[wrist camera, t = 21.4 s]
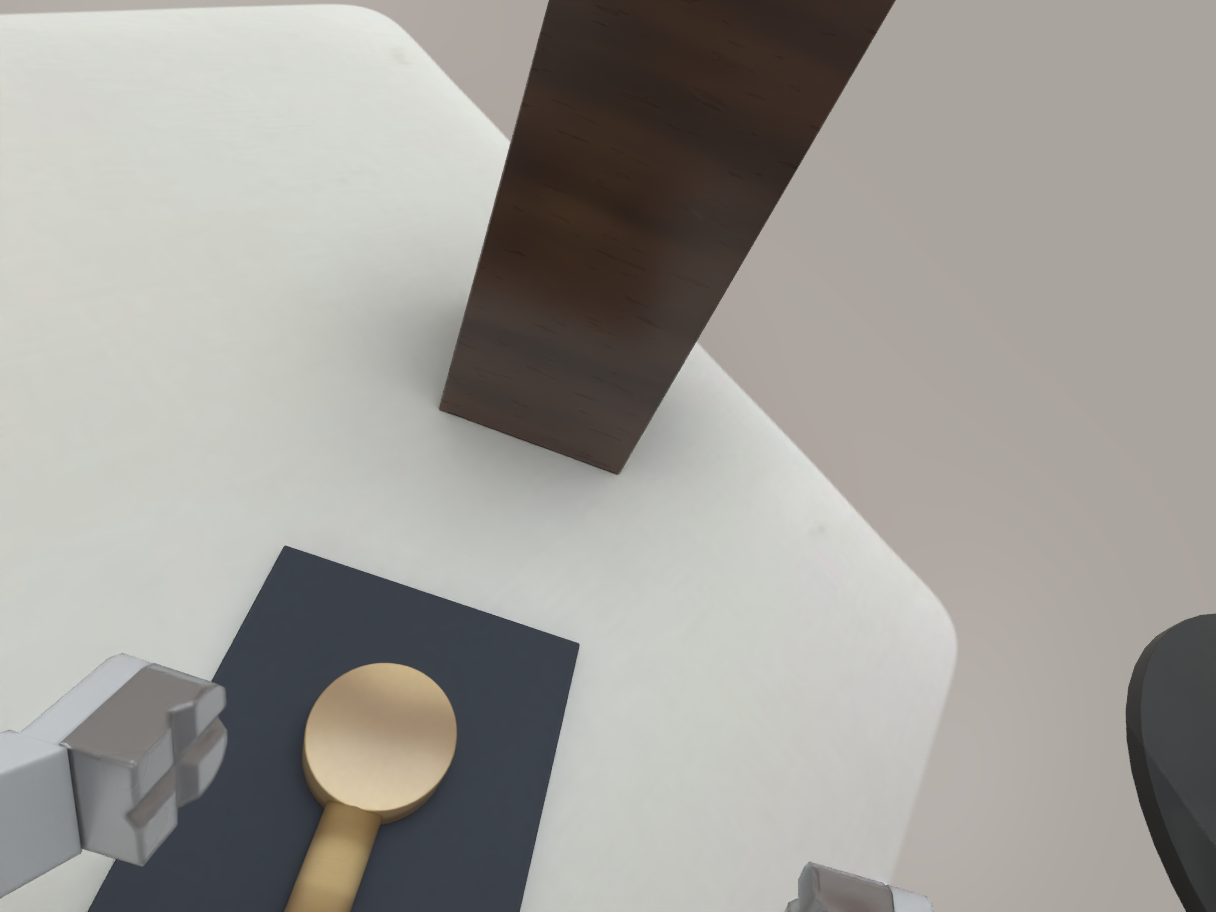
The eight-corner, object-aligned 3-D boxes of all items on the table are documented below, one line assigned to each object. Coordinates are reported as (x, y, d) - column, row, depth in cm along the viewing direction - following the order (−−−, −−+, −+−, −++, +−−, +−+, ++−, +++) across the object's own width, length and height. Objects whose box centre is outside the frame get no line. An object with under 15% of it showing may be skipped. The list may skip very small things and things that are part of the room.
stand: (618, 475, 39) (973, -133, 20) (438, 409, 38) (630, -305, 19) (643, 364, 45) (944, -203, 25) (485, 303, 43) (674, -342, 24)
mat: (437, 1262, 21) (440, 1265, 21) (-40, 1156, 20) (-45, 1157, 20) (576, 648, 33) (580, 643, 33) (284, 551, 32) (284, 544, 31)
